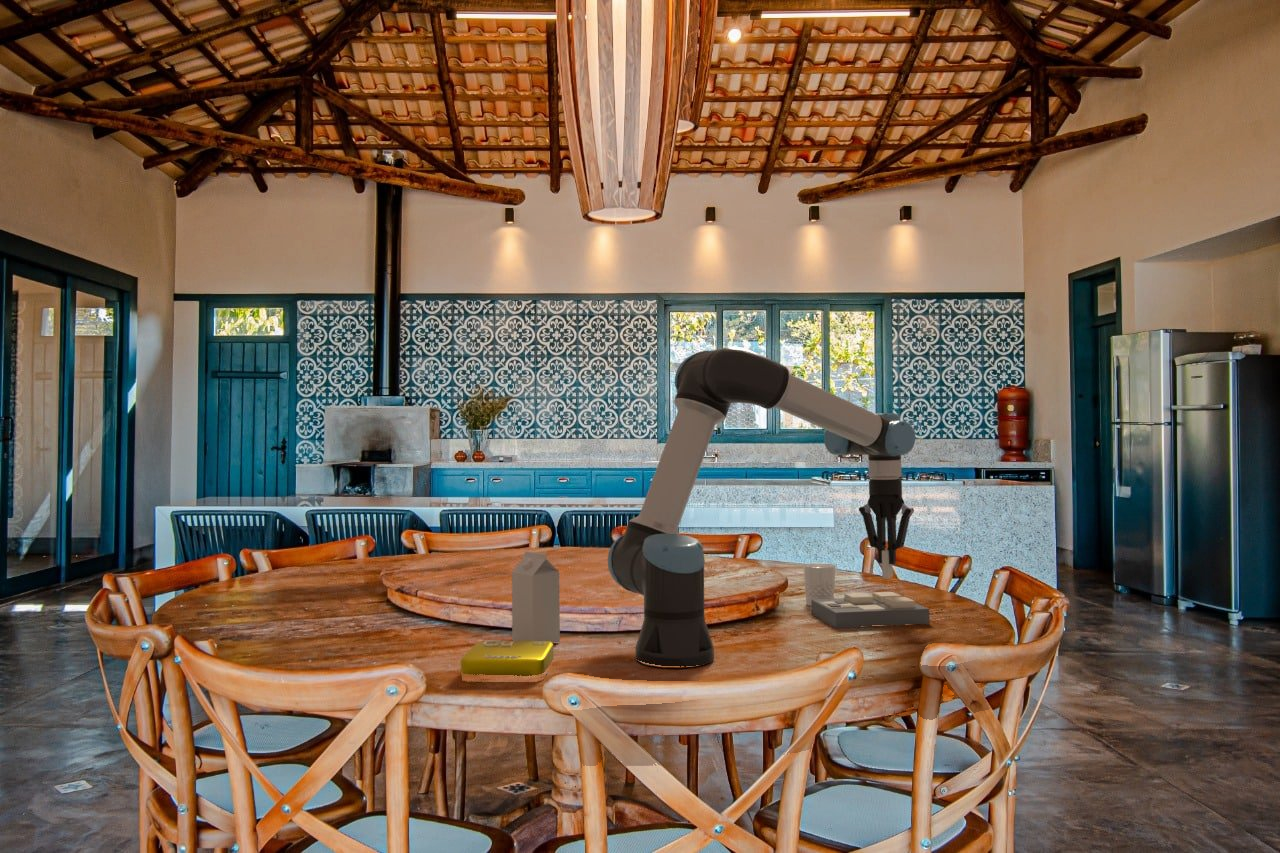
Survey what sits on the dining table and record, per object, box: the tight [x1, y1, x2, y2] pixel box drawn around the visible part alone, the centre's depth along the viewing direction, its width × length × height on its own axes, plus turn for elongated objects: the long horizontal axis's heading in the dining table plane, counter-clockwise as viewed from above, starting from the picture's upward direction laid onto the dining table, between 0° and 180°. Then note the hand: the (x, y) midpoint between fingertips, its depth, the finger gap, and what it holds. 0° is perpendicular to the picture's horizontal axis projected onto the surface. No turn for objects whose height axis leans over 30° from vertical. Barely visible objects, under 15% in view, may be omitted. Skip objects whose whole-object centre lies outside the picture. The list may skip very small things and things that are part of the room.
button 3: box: [871, 591, 902, 603], centre depth 210 cm, size 5×5×2 cm
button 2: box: [856, 605, 885, 610], centre depth 202 cm, size 5×5×2 cm
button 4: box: [885, 596, 916, 609], centre depth 203 cm, size 5×5×2 cm
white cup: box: [803, 562, 836, 607], centre depth 224 cm, size 8×8×10 cm
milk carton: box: [511, 550, 561, 643], centre depth 185 cm, size 7×7×19 cm
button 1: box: [844, 592, 873, 604], centre depth 209 cm, size 5×5×2 cm
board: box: [811, 597, 930, 629], centre depth 206 cm, size 22×16×4 cm
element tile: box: [460, 639, 555, 676], centre depth 163 cm, size 15×15×5 cm
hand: (887, 577), depth 210 cm, fingers closed
